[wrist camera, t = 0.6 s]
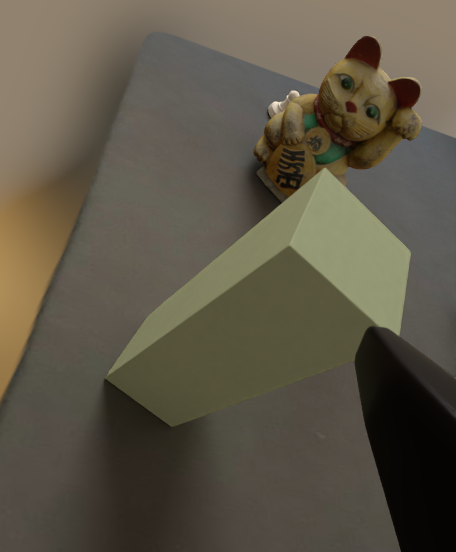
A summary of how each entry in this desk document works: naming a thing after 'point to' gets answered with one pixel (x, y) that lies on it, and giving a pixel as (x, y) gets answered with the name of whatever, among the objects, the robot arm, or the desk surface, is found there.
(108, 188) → the desk surface
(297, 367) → the sage green pillar
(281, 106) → the chess pawn
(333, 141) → the decorative figurine
